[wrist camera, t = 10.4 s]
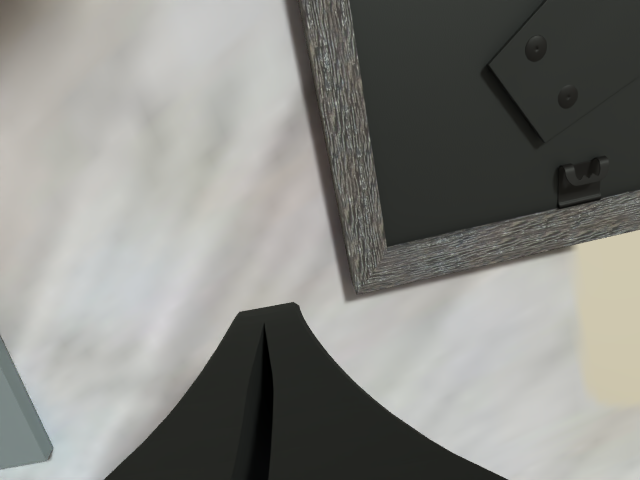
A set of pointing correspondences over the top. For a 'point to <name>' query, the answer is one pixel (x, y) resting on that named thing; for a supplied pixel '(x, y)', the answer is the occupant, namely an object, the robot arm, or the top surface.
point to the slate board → (18, 420)
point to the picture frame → (475, 128)
